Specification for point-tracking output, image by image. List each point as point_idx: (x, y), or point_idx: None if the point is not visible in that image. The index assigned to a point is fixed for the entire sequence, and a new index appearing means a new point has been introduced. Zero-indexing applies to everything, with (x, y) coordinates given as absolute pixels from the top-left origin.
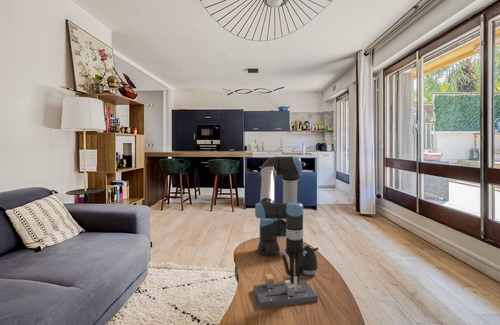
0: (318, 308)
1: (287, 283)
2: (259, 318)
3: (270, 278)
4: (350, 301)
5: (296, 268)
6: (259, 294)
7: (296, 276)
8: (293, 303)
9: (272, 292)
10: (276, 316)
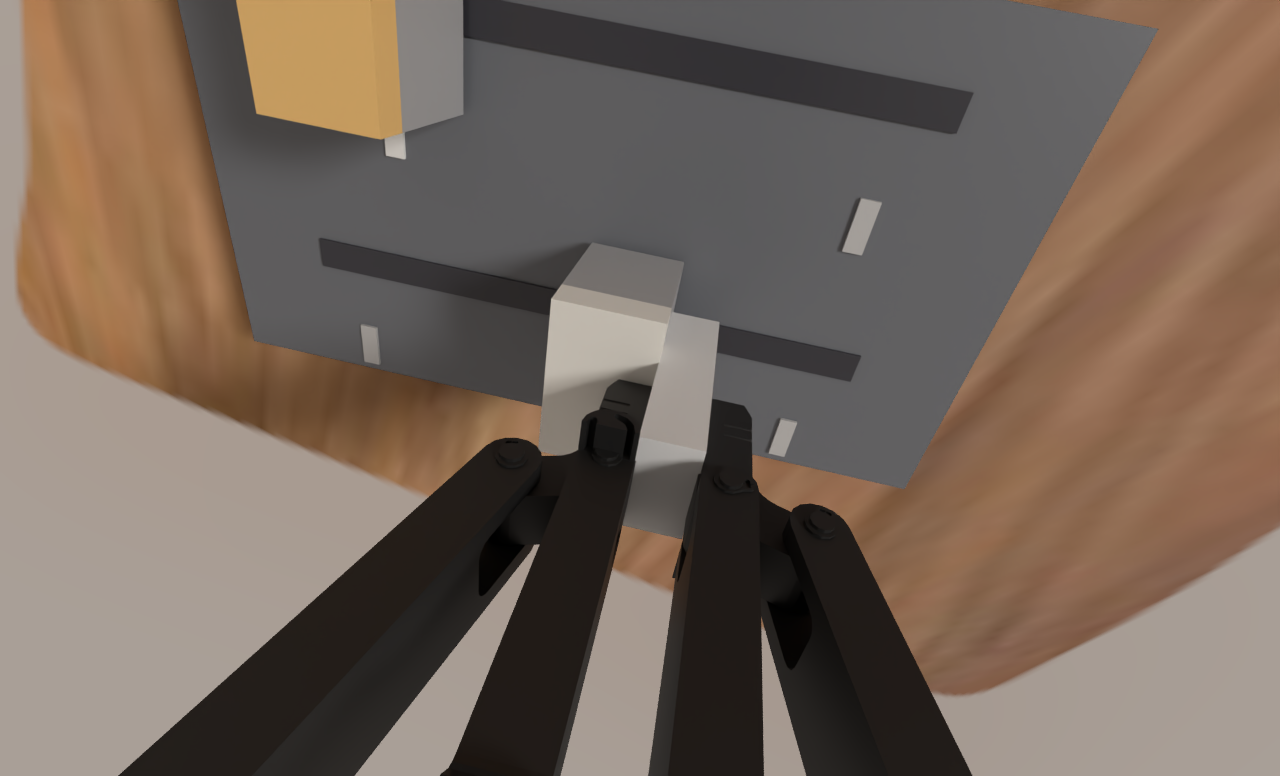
0: None
1: (552, 395)
2: (277, 419)
3: (310, 119)
4: (1191, 573)
5: (668, 644)
6: (245, 180)
7: (667, 535)
8: None
9: (419, 206)
10: (413, 453)
